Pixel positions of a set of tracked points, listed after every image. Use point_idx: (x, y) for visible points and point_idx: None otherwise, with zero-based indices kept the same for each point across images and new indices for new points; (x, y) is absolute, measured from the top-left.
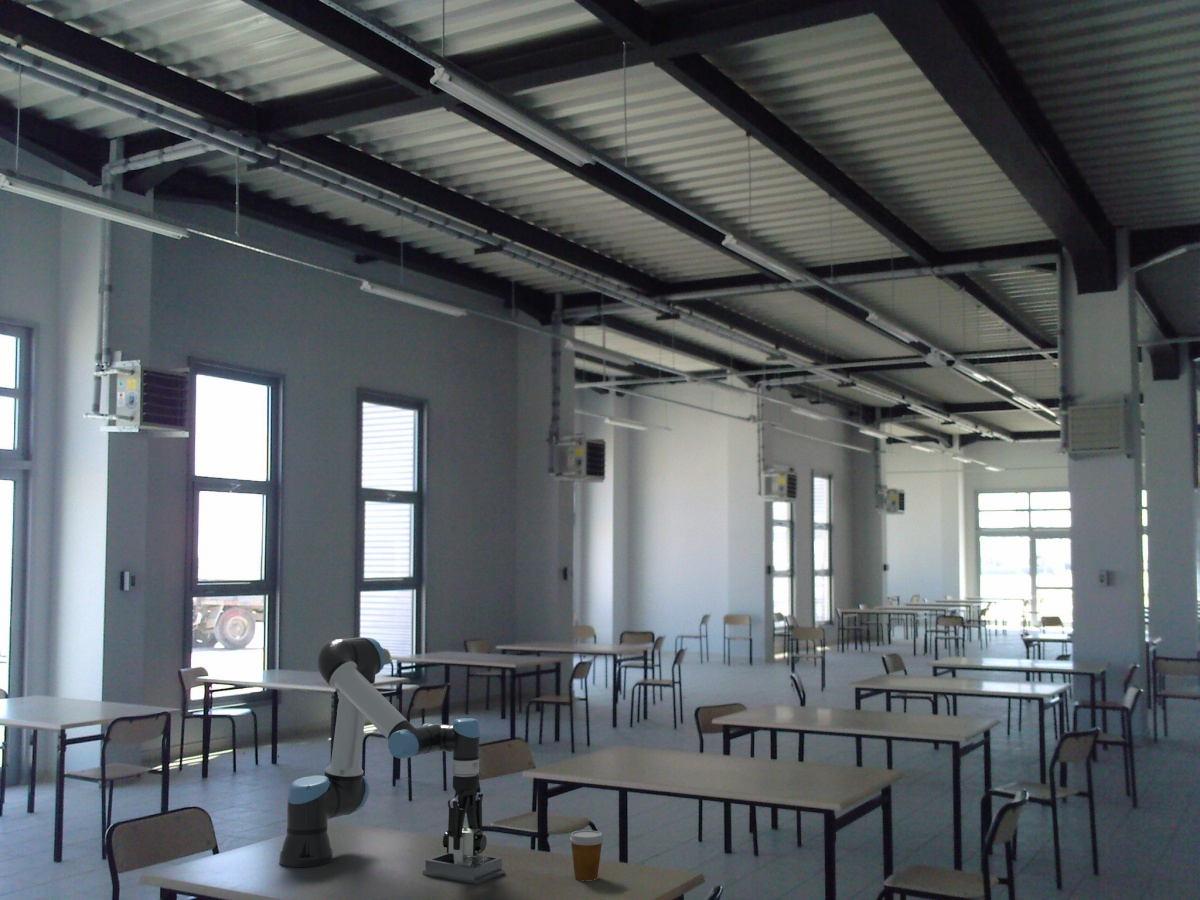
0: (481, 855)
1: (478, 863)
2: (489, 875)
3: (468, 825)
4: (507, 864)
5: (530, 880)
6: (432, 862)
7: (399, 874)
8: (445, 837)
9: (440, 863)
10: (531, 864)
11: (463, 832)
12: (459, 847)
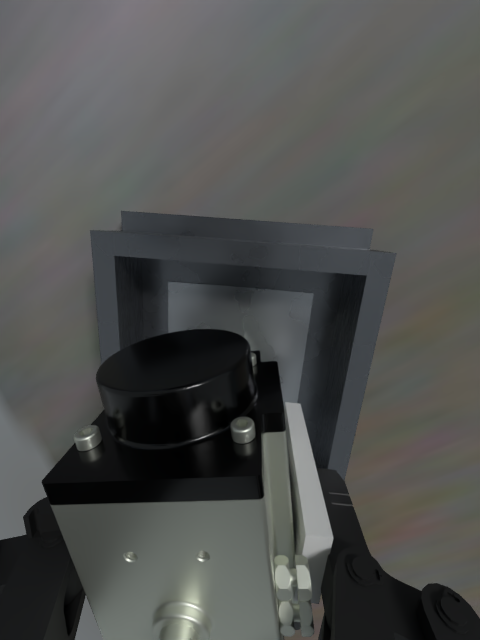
0: (334, 455)
1: (323, 414)
2: None
3: (335, 633)
4: (444, 459)
5: None
6: (99, 284)
7: (60, 89)
8: (101, 398)
9: (102, 341)
10: (471, 530)
11: (103, 633)
12: None
